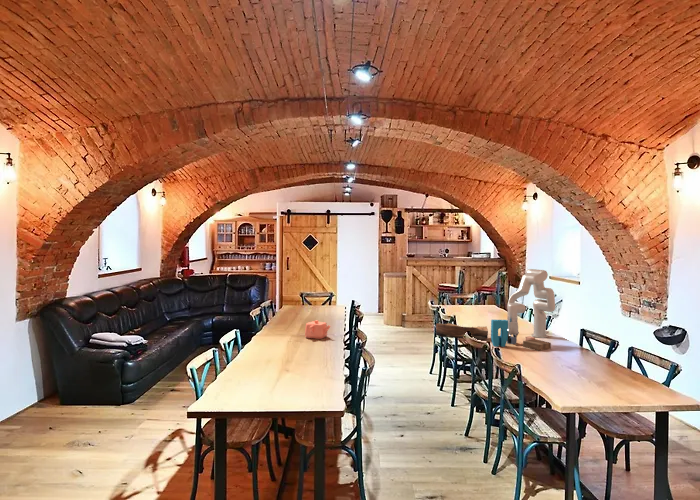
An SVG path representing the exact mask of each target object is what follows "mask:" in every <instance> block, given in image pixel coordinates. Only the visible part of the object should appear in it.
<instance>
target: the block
mask: <svg viewBox="0 0 700 500" xmlns="http://www.w3.org/2000/svg"><path fill="white" fill-rule="evenodd" d="M490 322H491V323H490V339H491V344H492V346H493V347H495V348H496V347H498V348H499V347H501V348H505V347H506V346H507V339H508V320H507V319H491V320H490ZM499 329H500V334H499Z"/></svg>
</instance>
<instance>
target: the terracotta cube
mask: <svg viewBox="0 0 700 500" xmlns="http://www.w3.org/2000/svg"><path fill="white" fill-rule="evenodd" d="M533 339H536V337H533V336H532V335H531V336H530V335H529V336H525V340H524V341H526V340H533Z"/></svg>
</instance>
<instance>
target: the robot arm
mask: <svg viewBox="0 0 700 500" xmlns="http://www.w3.org/2000/svg"><path fill="white" fill-rule="evenodd" d="M548 276H549V273H548V272H547V270H544V269H537V268H536V269H534V268H529V269H528V268H527V270H526V271H525V274H523V275H522V276H521V278H520V282H519V284H518V285H519V286H518V289H517V290H516V291H515V292H513V293H512V294H511V296H509V299H508V302H507V305H506V308H507V315H506V317H507V319H506V320H508V339H507V342H506V344H509V343H511V336H513V337H517V338H518V335H519V334H520V332H519V322H518V314H523V313H525V312H526V311H527V310H526V309H527V308H526V305H525V304H523V303H518V302H516V301H517V300H518V299H519V298H522V297H525V296H527V295H529V293H530V290H531V287H532V286H533V295H534V297H535V298H536V299H535V300H534V301H533V303H532V307H533V333H531V337H535V338H543V339H545V338H548V337H549V336H548V335H547V334H550V332H549V330H548V331H546V330H547V329H546V328H547V315H546V313H545V312H547V313H552V312H555V309H556V299H555V298H556V297H555V292H554V289H553V288H550V287H545V284H544V283H545V282H544V281H546V280H547V279H548Z"/></svg>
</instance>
